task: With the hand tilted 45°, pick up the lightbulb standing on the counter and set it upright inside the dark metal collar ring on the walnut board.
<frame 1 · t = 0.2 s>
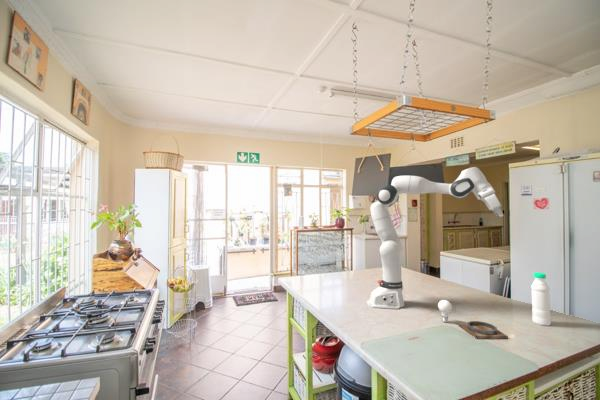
hand: (500, 216, 146), 54 cm above the table, tool tilted 30°, fingers open, 8 cm apart
lightbulb: (445, 322, 143), on the table
collar: (481, 327, 131), on the board, point 1 cm above the table
board: (481, 332, 130), on the table
water bottle: (541, 323, 140), on the table
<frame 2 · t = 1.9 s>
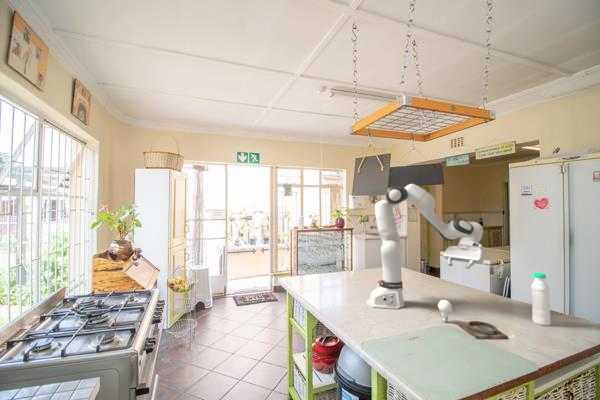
hand: (458, 266, 151), 26 cm above the table, tool tilted 45°, fingers open, 8 cm apart
nothing on the table moved.
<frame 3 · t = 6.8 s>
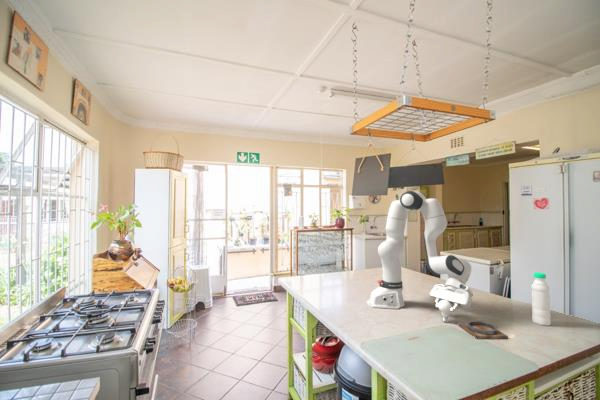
hand: (444, 309, 143), 6 cm above the table, tool tilted 45°, fingers closed on lightbulb, 6 cm apart
lightbulb: (445, 322, 143), on the table, touching gripper
everything else where it was.
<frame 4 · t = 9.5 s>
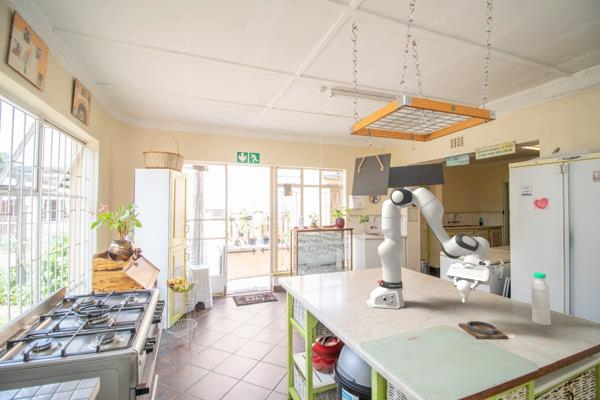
hand: (463, 287, 136), 19 cm above the table, tool tilted 45°, fingers closed on lightbulb, 6 cm apart
lightbulb: (464, 303, 136), point 11 cm above the table, touching gripper
everything else where it was.
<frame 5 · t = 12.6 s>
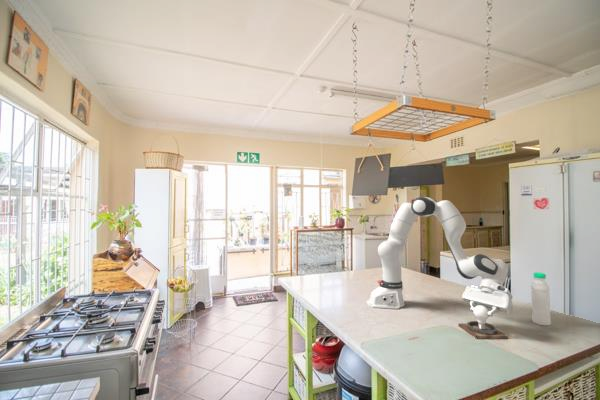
hand: (480, 313, 130), 9 cm above the table, tool tilted 45°, fingers closed on lightbulb, 6 cm apart
lightbulb: (481, 329, 130), point 1 cm above the table, touching board, gripper
everything else where it was.
when the fingers open (9 cm above the table, at t = 13.0 s): lightbulb stays where it is, resting on board.
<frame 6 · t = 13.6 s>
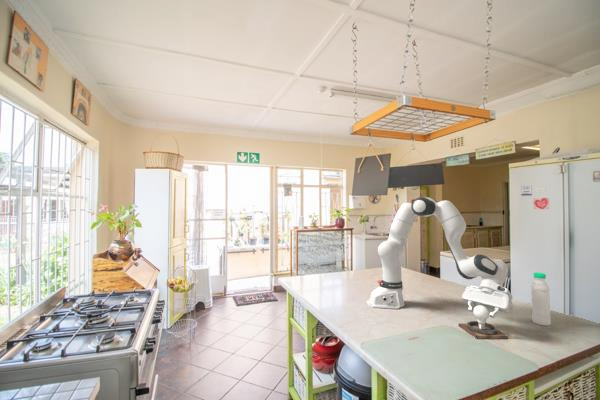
hand: (480, 313, 130), 9 cm above the table, tool tilted 45°, fingers open, 8 cm apart
lightbulb: (481, 329, 130), point 1 cm above the table, touching board
everything else where it was.
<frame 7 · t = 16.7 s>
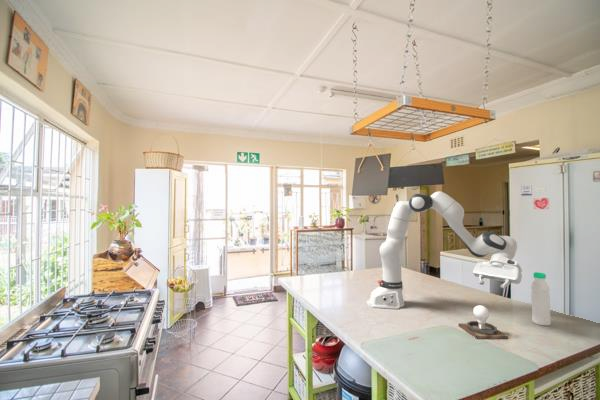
hand: (491, 285, 137), 20 cm above the table, tool tilted 45°, fingers open, 8 cm apart
nothing on the table moved.
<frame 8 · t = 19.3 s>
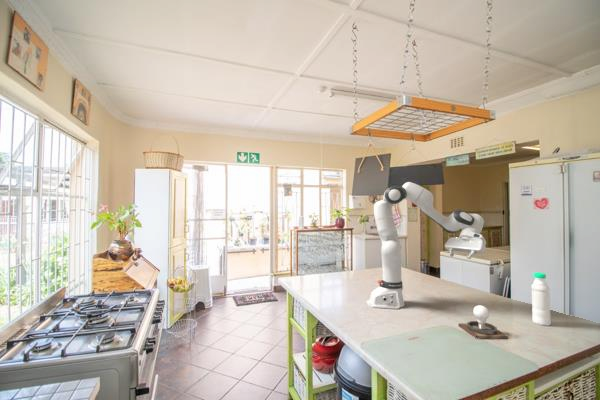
hand: (459, 256, 153), 31 cm above the table, tool tilted 45°, fingers open, 8 cm apart
nothing on the table moved.
at the end: lightbulb 0.1 cm off-centre on the collar, point 1.0 cm above the collar's base; lightbulb tilted 0°; the gripper is holding nothing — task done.
